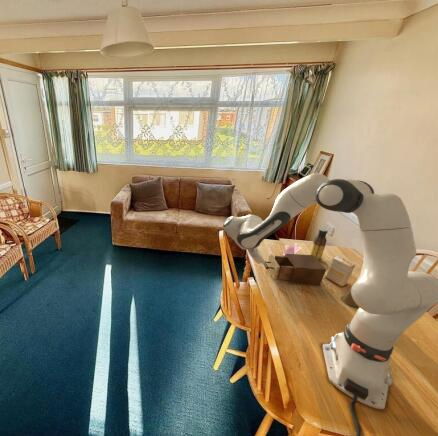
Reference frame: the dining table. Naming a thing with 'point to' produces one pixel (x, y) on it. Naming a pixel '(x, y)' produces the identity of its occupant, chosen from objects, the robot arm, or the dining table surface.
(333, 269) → the supplement box
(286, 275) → the drawer
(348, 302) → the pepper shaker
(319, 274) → the cabinet
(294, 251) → the lily
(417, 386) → the dining table surface
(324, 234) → the sauce bottle
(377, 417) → the dining table surface
